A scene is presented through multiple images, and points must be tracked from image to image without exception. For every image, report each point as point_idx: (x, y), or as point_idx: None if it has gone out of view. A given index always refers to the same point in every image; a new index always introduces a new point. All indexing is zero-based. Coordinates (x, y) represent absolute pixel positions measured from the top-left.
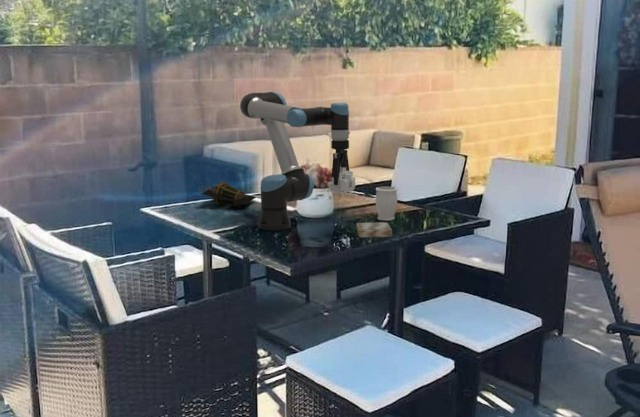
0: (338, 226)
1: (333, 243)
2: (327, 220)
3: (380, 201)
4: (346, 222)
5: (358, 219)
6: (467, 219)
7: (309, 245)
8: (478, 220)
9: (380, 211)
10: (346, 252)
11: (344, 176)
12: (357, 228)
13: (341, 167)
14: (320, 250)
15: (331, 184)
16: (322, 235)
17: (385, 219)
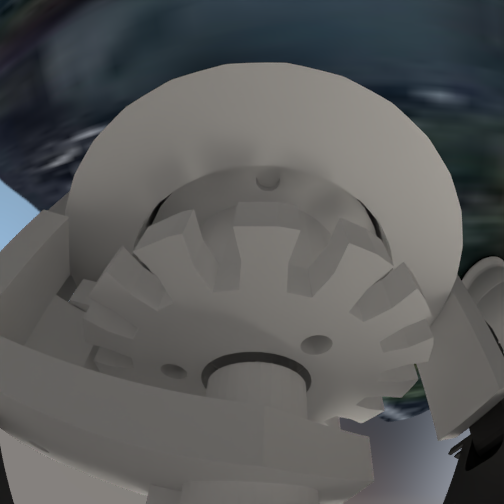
0: (405, 106)
1: (100, 126)
2: (498, 69)
3: (496, 315)
4: (468, 145)
5: (500, 193)
6: (416, 407)
7: (57, 52)
8: (403, 417)
9: (482, 286)
10: (32, 194)
11: (314, 419)
12: None
13: (497, 501)
14: (21, 113)
15: (71, 187)
16: (216, 45)
17: (463, 282)
